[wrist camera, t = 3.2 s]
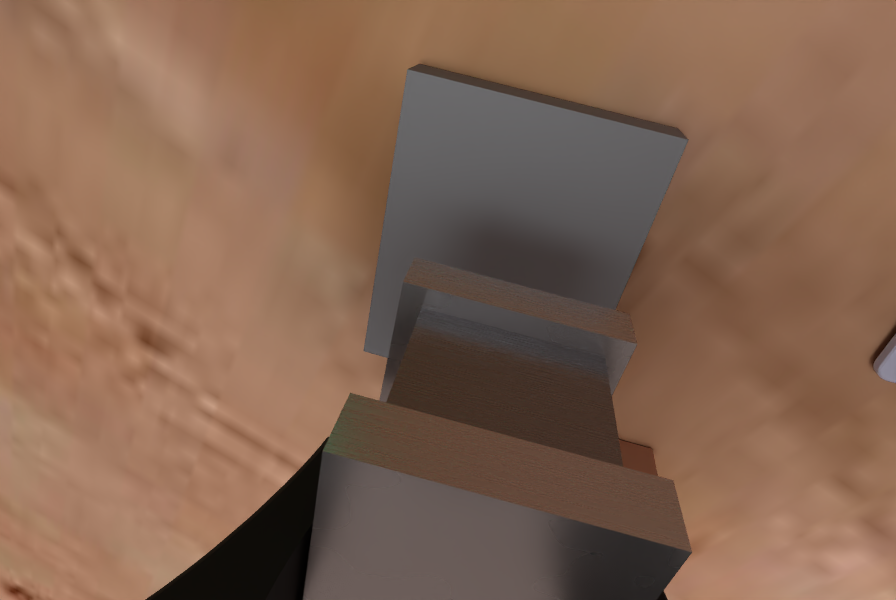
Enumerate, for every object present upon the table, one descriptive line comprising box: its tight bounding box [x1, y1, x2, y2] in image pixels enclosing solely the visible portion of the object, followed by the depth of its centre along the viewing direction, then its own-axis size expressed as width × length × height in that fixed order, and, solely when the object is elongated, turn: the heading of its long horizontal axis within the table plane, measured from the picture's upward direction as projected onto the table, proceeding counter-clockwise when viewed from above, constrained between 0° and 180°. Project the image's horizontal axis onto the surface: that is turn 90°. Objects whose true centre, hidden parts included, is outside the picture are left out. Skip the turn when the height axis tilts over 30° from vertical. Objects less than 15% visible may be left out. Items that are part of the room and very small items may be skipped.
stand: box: [364, 64, 688, 358], centre depth 18 cm, size 8×10×2 cm
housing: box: [303, 257, 692, 600], centre depth 11 cm, size 5×7×6 cm
